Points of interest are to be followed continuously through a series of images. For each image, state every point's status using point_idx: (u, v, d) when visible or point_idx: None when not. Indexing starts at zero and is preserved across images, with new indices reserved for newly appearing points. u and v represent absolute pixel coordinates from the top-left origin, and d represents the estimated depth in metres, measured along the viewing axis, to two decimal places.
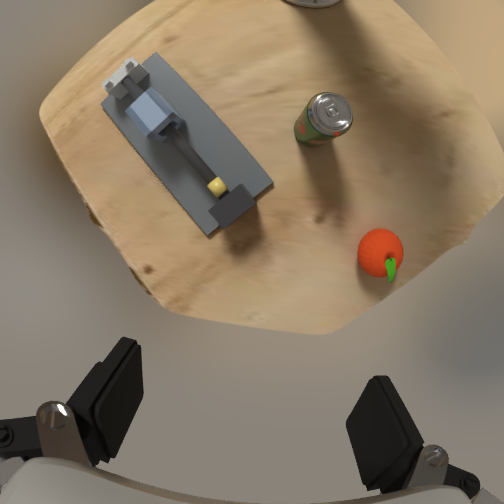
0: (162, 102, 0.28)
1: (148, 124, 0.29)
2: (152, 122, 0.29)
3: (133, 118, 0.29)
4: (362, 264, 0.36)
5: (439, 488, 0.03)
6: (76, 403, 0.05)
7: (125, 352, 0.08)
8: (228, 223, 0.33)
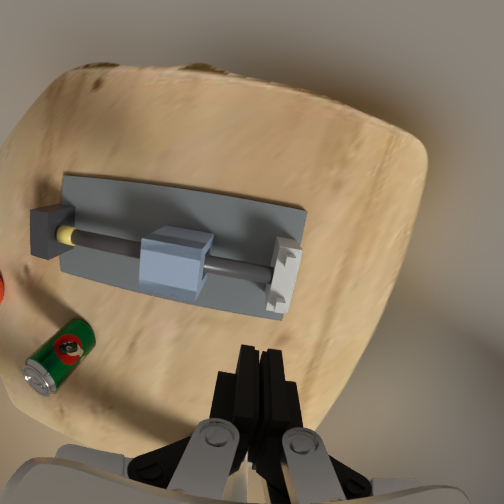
0: (160, 291, 0.22)
1: (151, 254, 0.21)
2: (149, 260, 0.21)
3: (179, 248, 0.21)
4: None
5: (439, 488, 0.03)
6: (238, 415, 0.07)
7: (253, 358, 0.09)
8: (31, 218, 0.22)
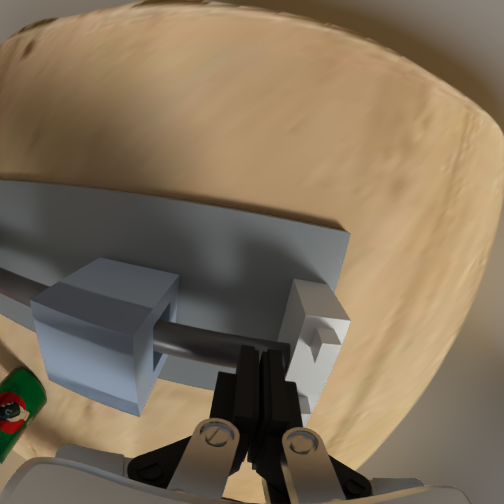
0: (79, 392, 0.09)
1: (50, 331, 0.08)
2: (49, 341, 0.09)
3: (89, 328, 0.08)
4: None
5: (439, 488, 0.03)
6: (238, 415, 0.07)
7: (253, 359, 0.09)
8: None
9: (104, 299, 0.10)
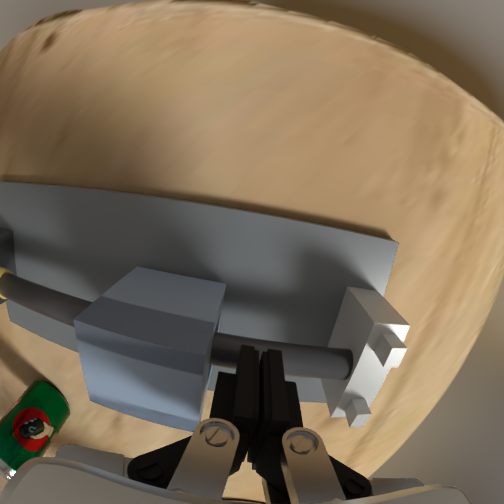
0: (128, 412, 0.09)
1: (98, 353, 0.08)
2: (96, 362, 0.09)
3: (151, 348, 0.08)
4: None
5: (439, 488, 0.03)
6: (238, 415, 0.07)
7: (253, 359, 0.09)
8: None
9: (159, 315, 0.10)
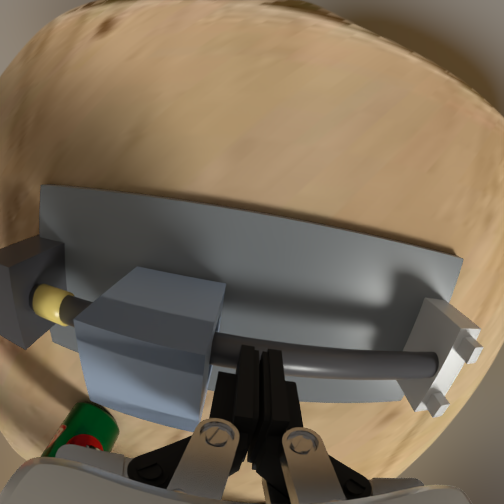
0: (128, 412, 0.09)
1: (99, 353, 0.08)
2: (96, 362, 0.09)
3: (152, 348, 0.08)
4: None
5: (439, 488, 0.03)
6: (238, 415, 0.07)
7: (253, 359, 0.09)
8: None
9: (159, 315, 0.10)
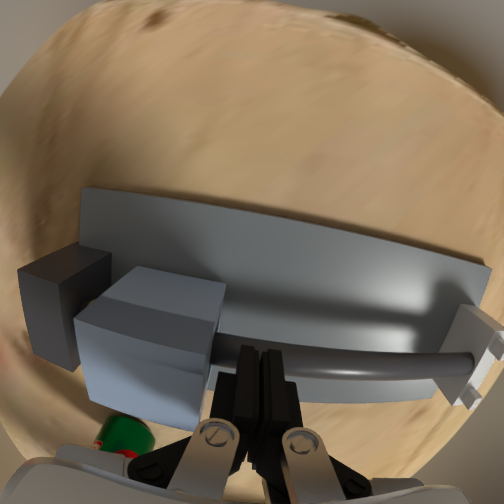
0: (128, 412, 0.09)
1: (98, 352, 0.08)
2: (96, 361, 0.09)
3: (152, 348, 0.08)
4: None
5: (439, 488, 0.03)
6: (238, 415, 0.07)
7: (253, 359, 0.09)
8: (21, 288, 0.10)
9: (159, 314, 0.10)
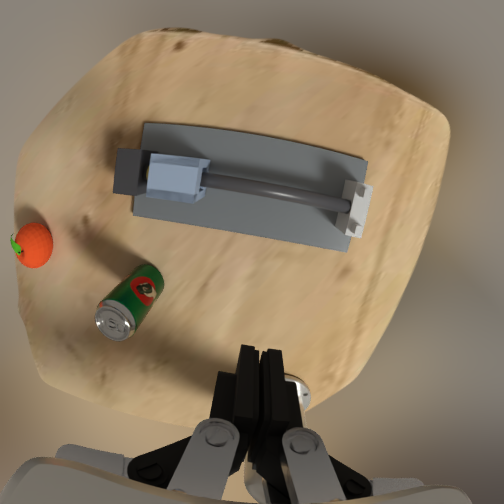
0: (164, 197, 0.26)
1: (158, 166, 0.25)
2: (156, 171, 0.25)
3: (181, 158, 0.25)
4: (32, 226, 0.30)
5: (439, 488, 0.03)
6: (238, 415, 0.07)
7: (253, 358, 0.09)
8: (118, 156, 0.26)
9: (183, 156, 0.26)
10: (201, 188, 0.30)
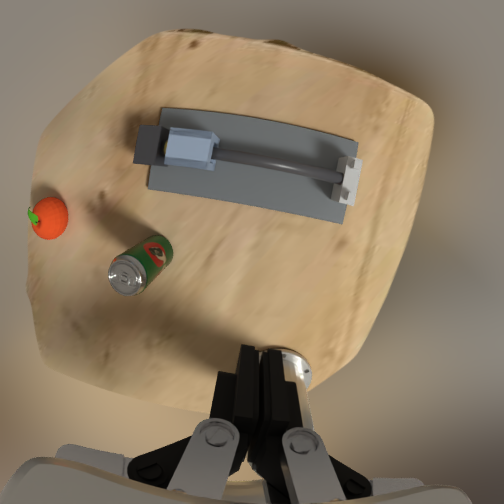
0: (180, 164, 0.29)
1: (176, 137, 0.29)
2: (174, 142, 0.29)
3: (196, 131, 0.28)
4: (50, 199, 0.34)
5: (439, 488, 0.03)
6: (238, 415, 0.07)
7: (253, 359, 0.09)
8: (139, 132, 0.30)
9: None
10: (211, 162, 0.34)
